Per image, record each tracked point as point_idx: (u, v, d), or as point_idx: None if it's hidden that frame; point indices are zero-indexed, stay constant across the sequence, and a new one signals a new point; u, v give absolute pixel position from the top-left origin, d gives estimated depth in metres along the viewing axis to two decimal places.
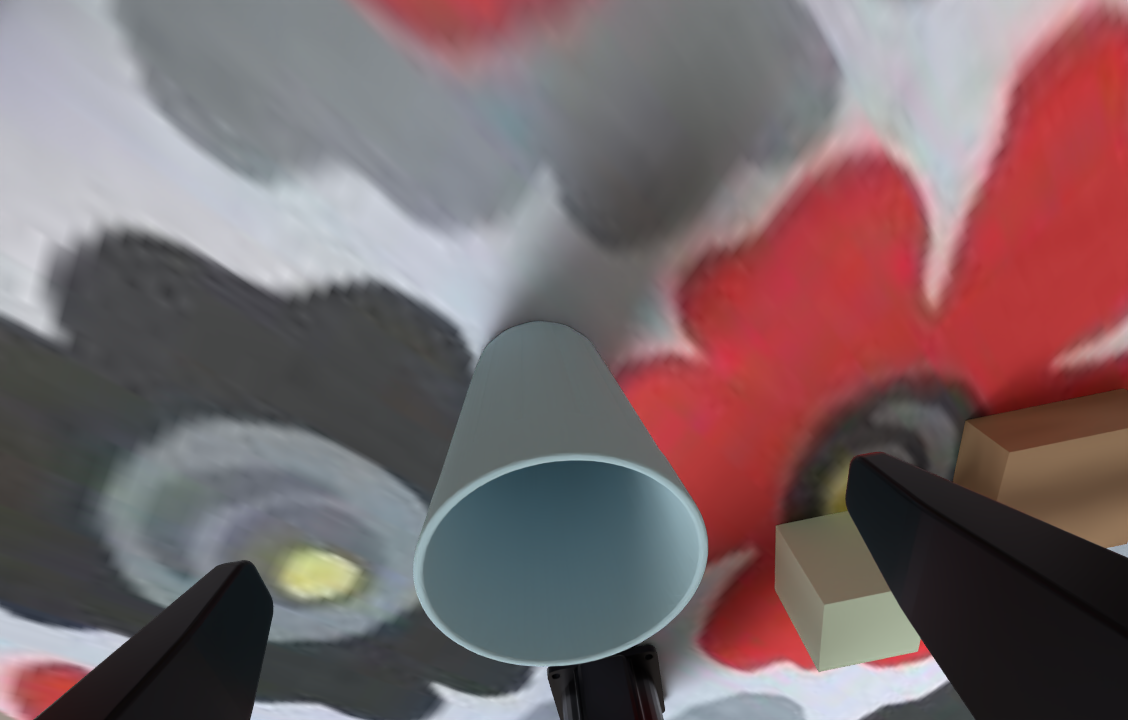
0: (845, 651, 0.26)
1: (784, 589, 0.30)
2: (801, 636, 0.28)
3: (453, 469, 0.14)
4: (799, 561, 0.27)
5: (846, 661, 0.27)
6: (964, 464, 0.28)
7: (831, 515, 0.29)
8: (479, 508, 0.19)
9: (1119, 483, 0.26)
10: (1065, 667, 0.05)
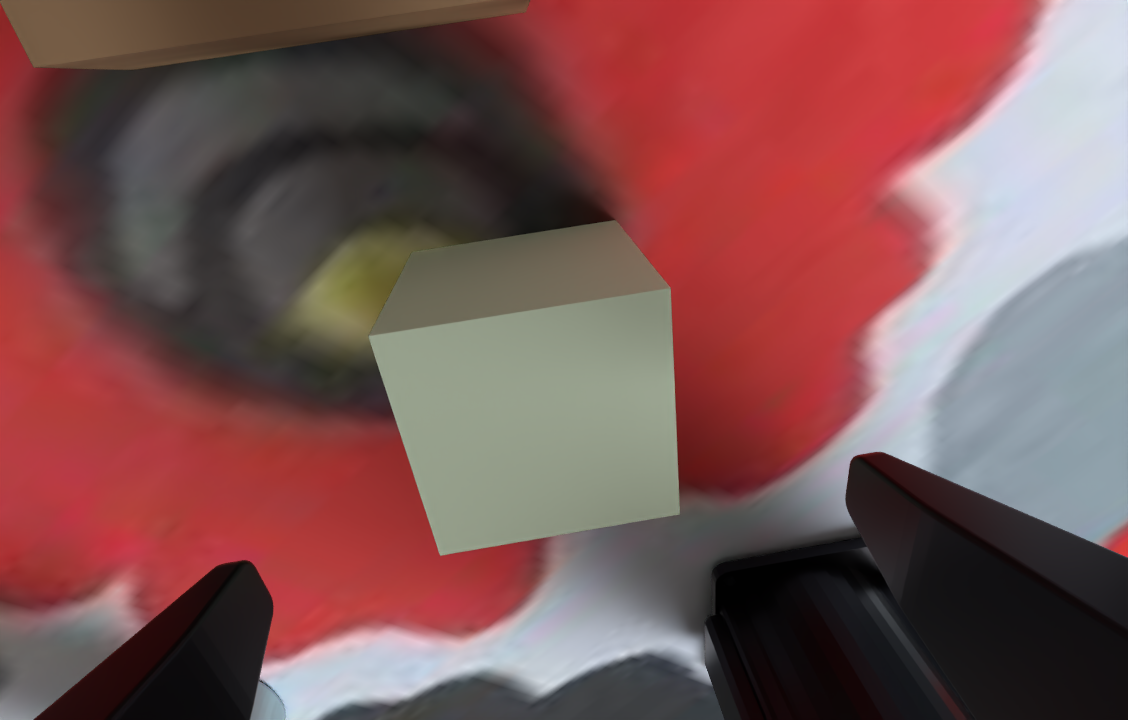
0: (617, 477, 0.11)
1: None
2: None
3: None
4: None
5: (657, 465, 0.11)
6: (242, 51, 0.11)
7: None
8: None
9: None
10: (1065, 667, 0.05)
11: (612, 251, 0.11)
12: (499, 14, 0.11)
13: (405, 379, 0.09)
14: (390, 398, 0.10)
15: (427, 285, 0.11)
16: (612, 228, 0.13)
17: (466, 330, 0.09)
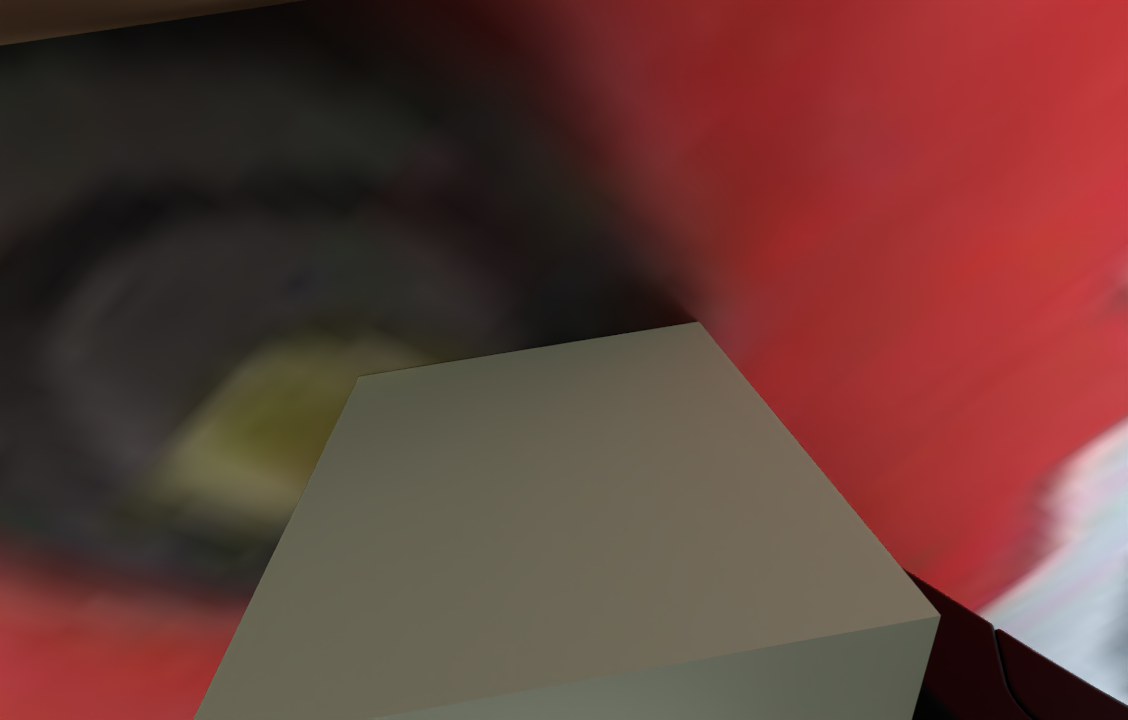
0: None
1: None
2: None
3: None
4: None
5: None
6: None
7: None
8: None
9: None
10: None
11: (728, 424, 0.06)
12: None
13: None
14: None
15: (363, 503, 0.05)
16: (701, 347, 0.07)
17: None
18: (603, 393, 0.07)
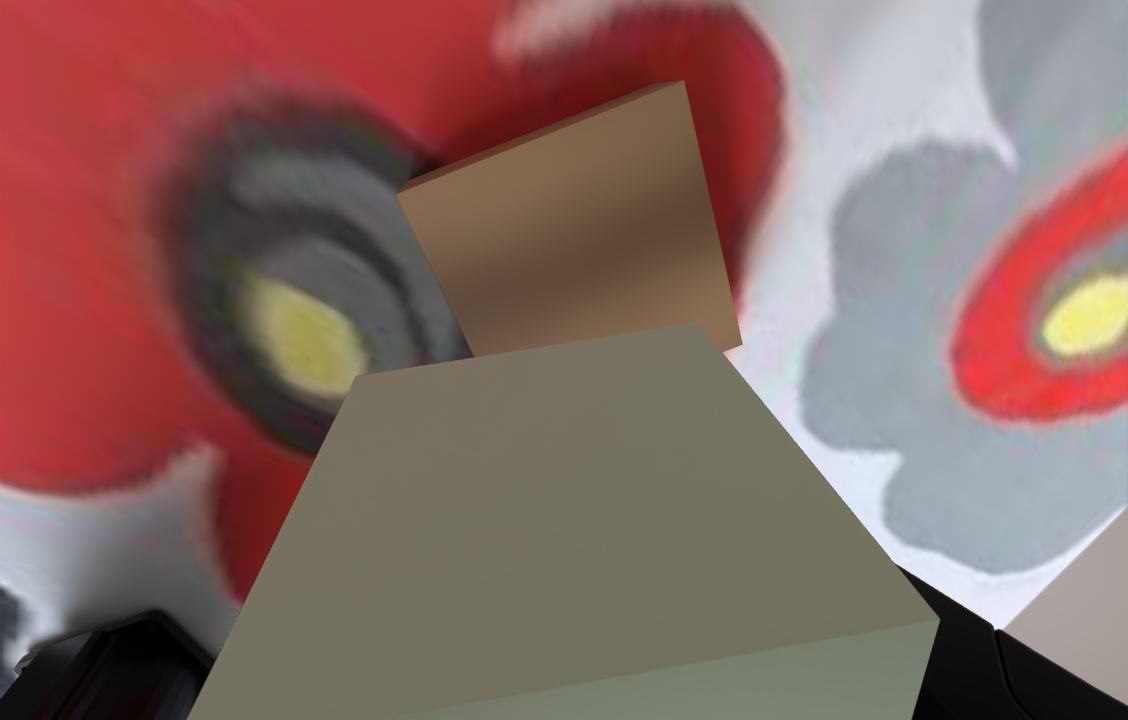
0: None
1: None
2: None
3: None
4: None
5: None
6: None
7: None
8: None
9: (652, 231, 0.16)
10: None
11: (727, 426, 0.06)
12: None
13: None
14: None
15: (359, 506, 0.05)
16: (700, 347, 0.07)
17: None
18: (601, 394, 0.07)
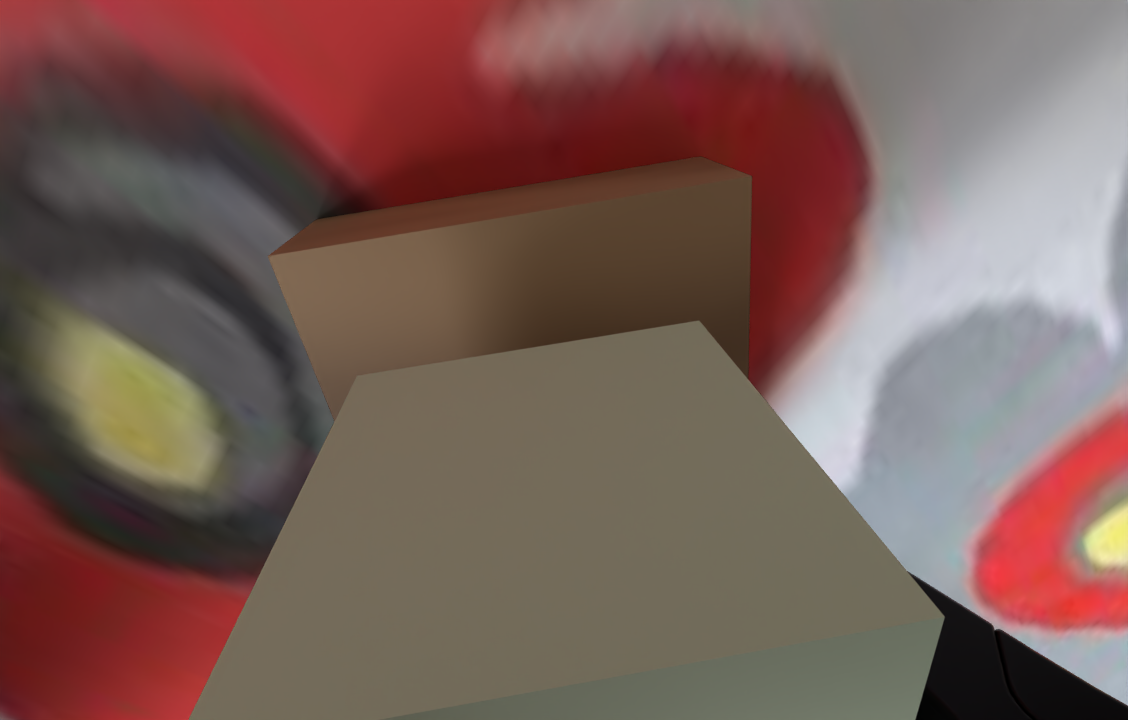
0: None
1: None
2: None
3: None
4: None
5: None
6: None
7: None
8: None
9: None
10: None
11: (729, 424, 0.06)
12: None
13: None
14: None
15: (361, 505, 0.05)
16: (702, 346, 0.07)
17: None
18: (603, 392, 0.07)
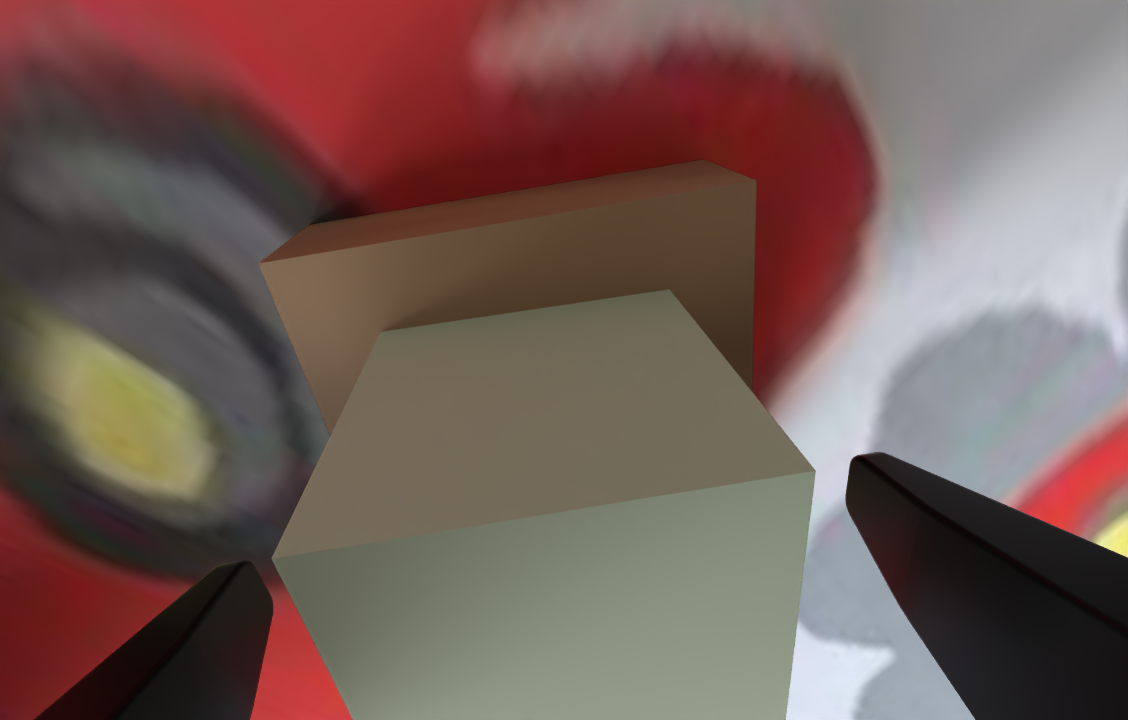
0: None
1: None
2: None
3: None
4: None
5: (755, 709, 0.07)
6: None
7: None
8: None
9: None
10: (1065, 667, 0.05)
11: (683, 361, 0.07)
12: None
13: (343, 617, 0.05)
14: (318, 643, 0.05)
15: (393, 417, 0.07)
16: (669, 307, 0.09)
17: (450, 545, 0.05)
18: (585, 341, 0.08)
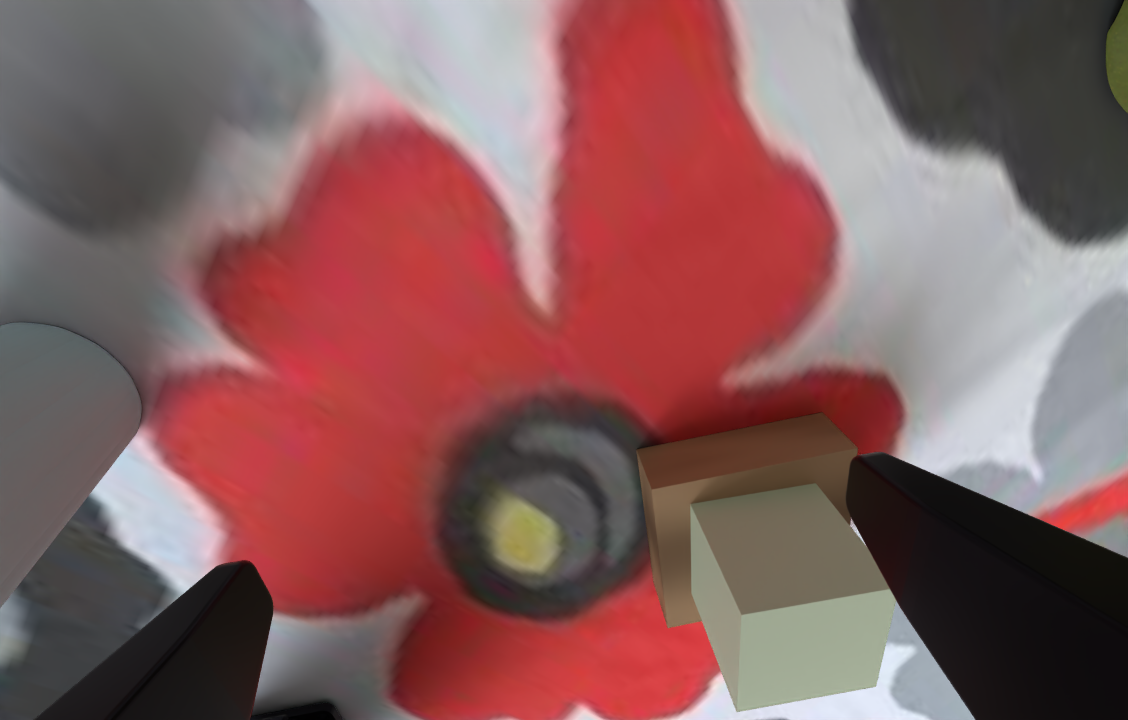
0: (846, 670, 0.19)
1: None
2: None
3: None
4: (712, 646, 0.21)
5: (870, 664, 0.19)
6: (644, 499, 0.24)
7: (692, 545, 0.22)
8: None
9: None
10: (1064, 667, 0.05)
11: (839, 533, 0.19)
12: (653, 577, 0.26)
13: (752, 632, 0.17)
14: (740, 640, 0.17)
15: (737, 558, 0.19)
16: (821, 497, 0.21)
17: (790, 610, 0.17)
18: (793, 518, 0.20)
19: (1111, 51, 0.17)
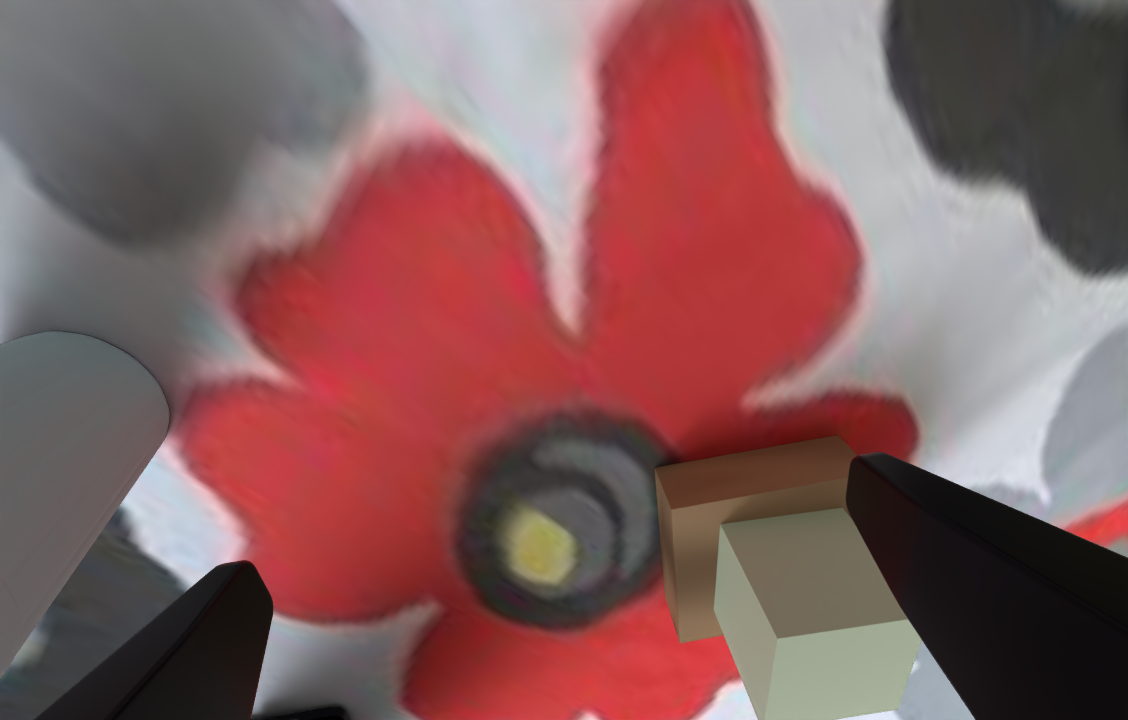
0: (871, 693, 0.19)
1: None
2: None
3: None
4: (736, 664, 0.22)
5: (894, 688, 0.19)
6: (660, 516, 0.24)
7: (718, 564, 0.22)
8: None
9: None
10: (1065, 667, 0.05)
11: (868, 559, 0.20)
12: (665, 591, 0.27)
13: (785, 655, 0.18)
14: (773, 662, 0.18)
15: (769, 580, 0.19)
16: (848, 522, 0.21)
17: (824, 635, 0.17)
18: (822, 542, 0.20)
19: None
